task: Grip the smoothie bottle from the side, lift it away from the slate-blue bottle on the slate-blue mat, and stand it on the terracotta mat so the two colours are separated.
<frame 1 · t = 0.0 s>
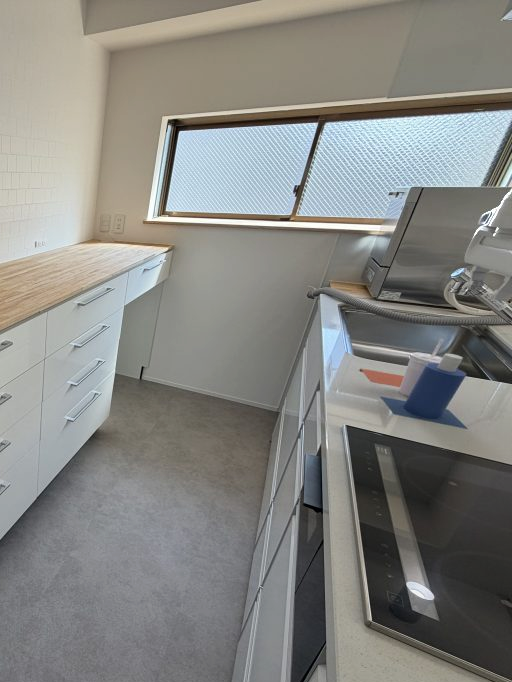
hand: (484, 294, 81), 25 cm above the table, tool pointing down, fingers open, 8 cm apart
terracotta mat: (396, 382, 103), on the table
blue bottle: (421, 411, 88), resting on blue mat
blue mat: (420, 413, 89), on the table
smoothie: (408, 396, 96), on the table
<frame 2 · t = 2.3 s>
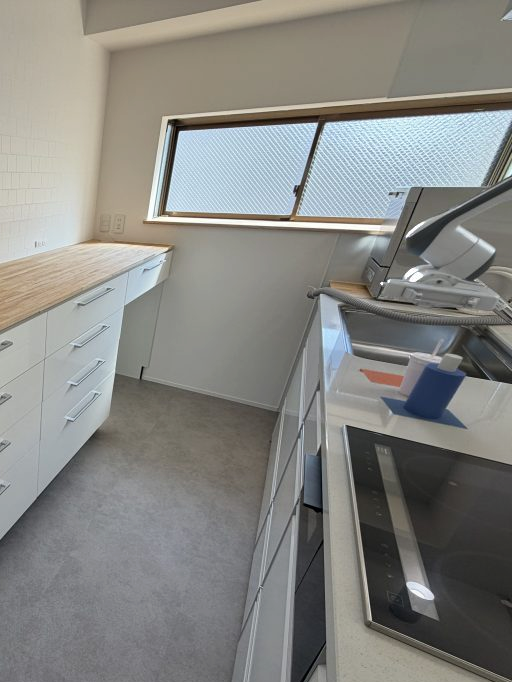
hand: (443, 301, 96), 20 cm above the table, tool horizontal, fingers open, 8 cm apart
nothing on the table moved.
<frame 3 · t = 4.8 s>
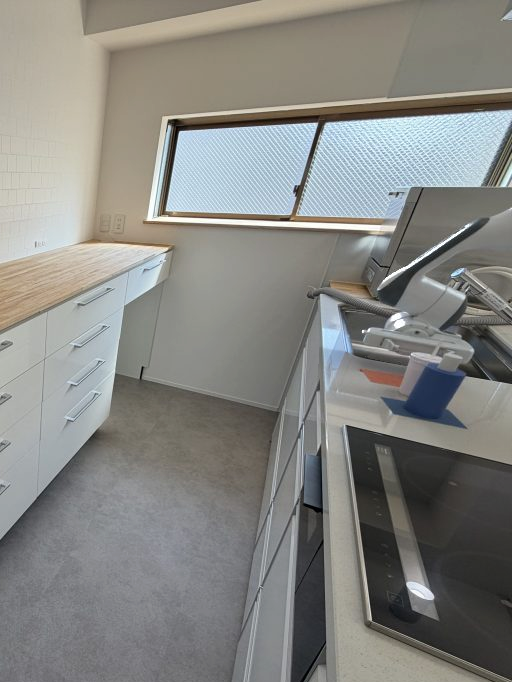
hand: (419, 353, 99), 8 cm above the table, tool horizontal, fingers open, 8 cm apart
nothing on the table moved.
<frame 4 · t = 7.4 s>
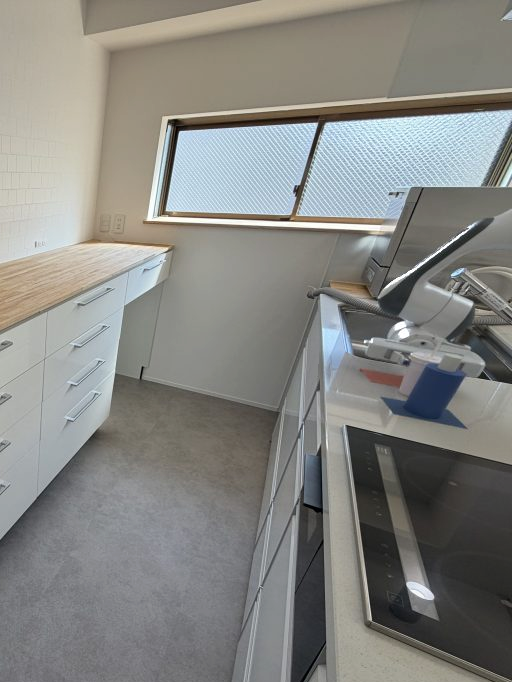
hand: (426, 366, 92), 8 cm above the table, tool horizontal, fingers closed on smoothie, 6 cm apart
smoothie: (408, 396, 96), on the table, touching gripper
everything else where it was.
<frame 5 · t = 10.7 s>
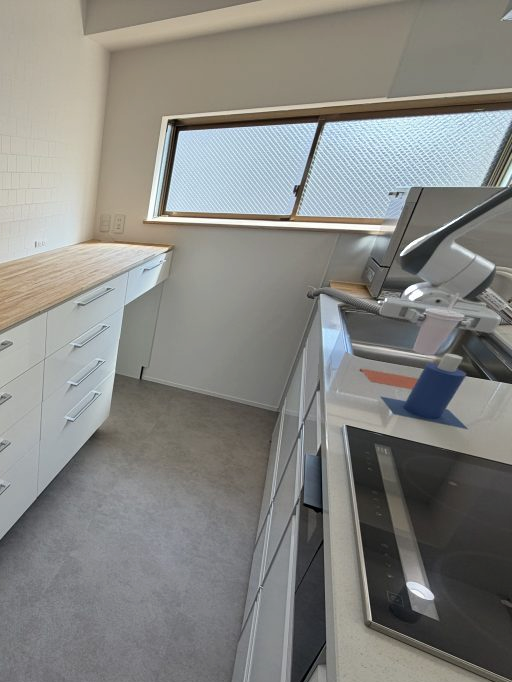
hand: (442, 321, 92), 17 cm above the table, tool horizontal, fingers closed on smoothie, 6 cm apart
smoothie: (422, 353, 96), point 9 cm above the table, touching gripper
everything else where it was.
when the fingers open (8 cm above the table, at t = 14.0 s): smoothie stays where it is, resting on terracotta mat.
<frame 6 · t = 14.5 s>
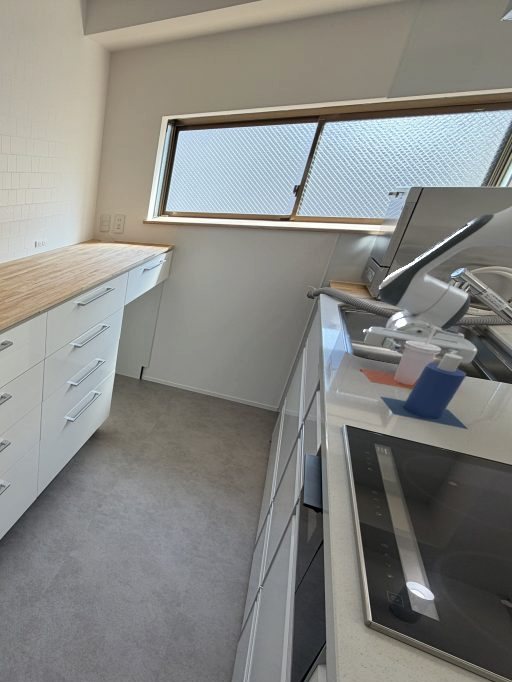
hand: (421, 352, 98), 9 cm above the table, tool horizontal, fingers open, 8 cm apart
smoothie: (403, 382, 102), resting on terracotta mat
everything else where it was.
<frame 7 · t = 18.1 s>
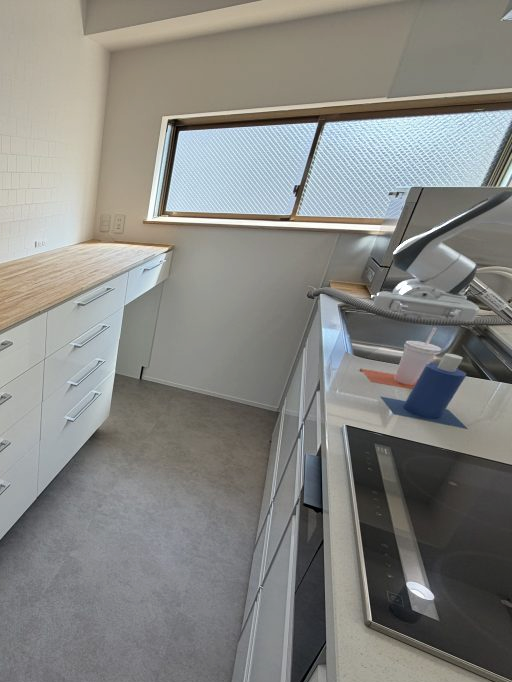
hand: (427, 312, 104), 16 cm above the table, tool horizontal, fingers open, 8 cm apart
nothing on the table moved.
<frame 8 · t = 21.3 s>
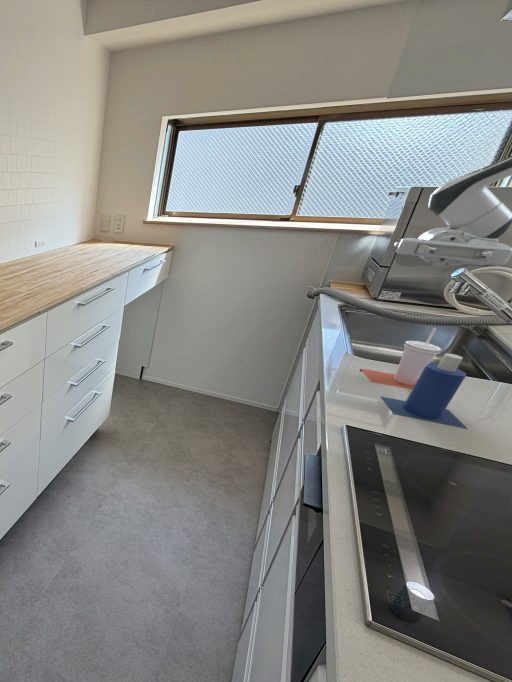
hand: (457, 253, 98), 30 cm above the table, tool horizontal, fingers open, 8 cm apart
nothing on the table moved.
at the end: smoothie inside the target area on the terracotta mat (1.3 cm from its centre), point 0.3 cm above the terracotta mat's base; smoothie tilted 0°; blue bottle moved 0.0 cm from its start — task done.
